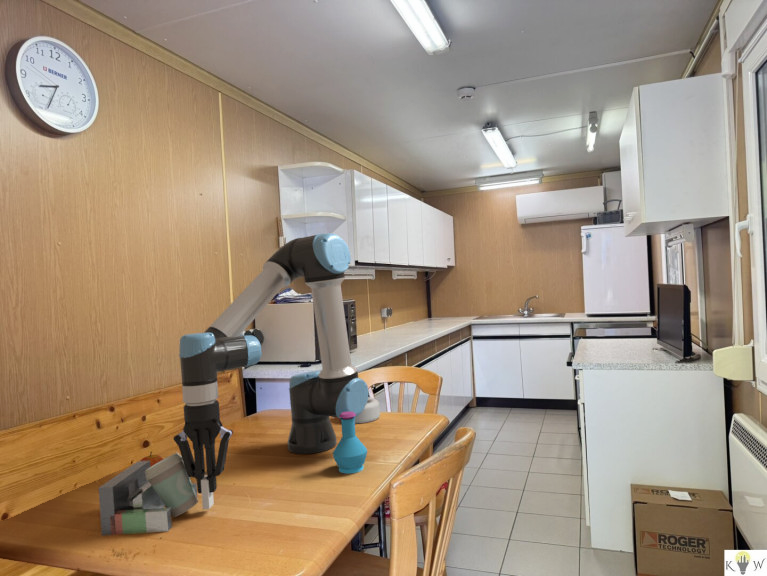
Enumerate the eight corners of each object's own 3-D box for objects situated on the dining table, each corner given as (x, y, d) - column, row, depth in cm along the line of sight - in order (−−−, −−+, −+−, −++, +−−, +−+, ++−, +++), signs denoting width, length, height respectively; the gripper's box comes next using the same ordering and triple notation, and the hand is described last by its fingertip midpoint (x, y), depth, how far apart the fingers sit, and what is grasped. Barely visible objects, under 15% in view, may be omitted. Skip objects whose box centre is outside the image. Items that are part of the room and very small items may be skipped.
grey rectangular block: (167, 503, 118) (165, 472, 118) (136, 532, 103) (134, 497, 104) (129, 506, 118) (127, 475, 118) (93, 535, 104) (91, 500, 104)
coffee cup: (190, 511, 107) (164, 461, 107) (159, 526, 108) (134, 477, 109) (211, 492, 115) (187, 446, 115) (182, 506, 117) (158, 461, 117)
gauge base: (197, 499, 120) (195, 457, 120) (167, 531, 104) (164, 483, 104) (140, 502, 120) (137, 461, 120) (101, 535, 104) (98, 487, 104)
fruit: (147, 488, 129) (145, 457, 129) (132, 484, 133) (130, 454, 133) (171, 478, 135) (169, 449, 135) (156, 475, 139) (154, 446, 139)
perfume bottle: (373, 463, 136) (369, 409, 136) (360, 476, 127) (356, 417, 127) (342, 462, 139) (338, 408, 139) (328, 474, 130) (324, 417, 130)
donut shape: (342, 426, 176) (341, 407, 176) (337, 416, 191) (336, 399, 191) (383, 421, 179) (382, 403, 179) (376, 412, 194) (375, 395, 194)
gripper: (235, 396, 116) (242, 497, 115) (179, 400, 116) (186, 501, 116) (224, 403, 108) (231, 512, 108) (164, 407, 108) (172, 515, 108)
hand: (208, 506), depth 112 cm, fingers closed
